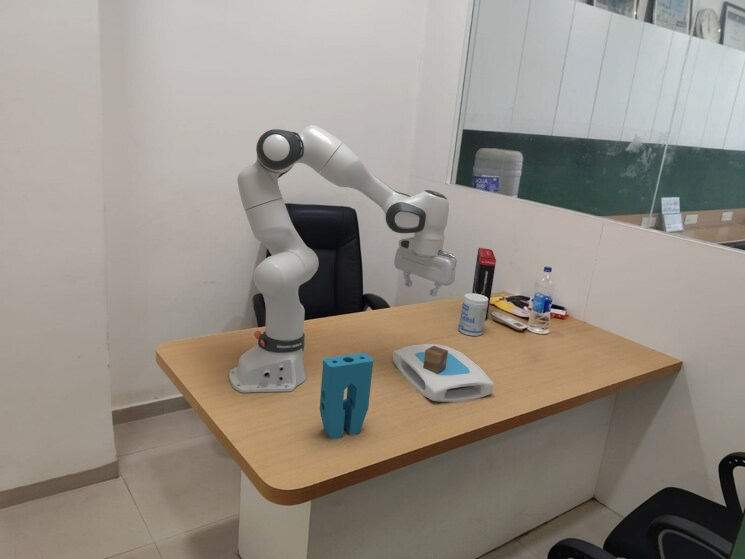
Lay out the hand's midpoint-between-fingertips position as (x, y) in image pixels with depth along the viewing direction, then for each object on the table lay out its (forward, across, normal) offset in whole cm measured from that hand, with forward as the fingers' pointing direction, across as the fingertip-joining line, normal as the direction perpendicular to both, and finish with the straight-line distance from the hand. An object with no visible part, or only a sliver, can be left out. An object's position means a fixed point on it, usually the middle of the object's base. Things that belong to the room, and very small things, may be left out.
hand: (420, 290), depth 164 cm
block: (+29, -8, +38) cm, 49 cm away
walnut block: (+22, -9, -1) cm, 24 cm away
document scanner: (+29, -8, -6) cm, 31 cm away
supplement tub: (+28, +6, -50) cm, 58 cm away
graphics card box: (+28, +16, -72) cm, 79 cm away
